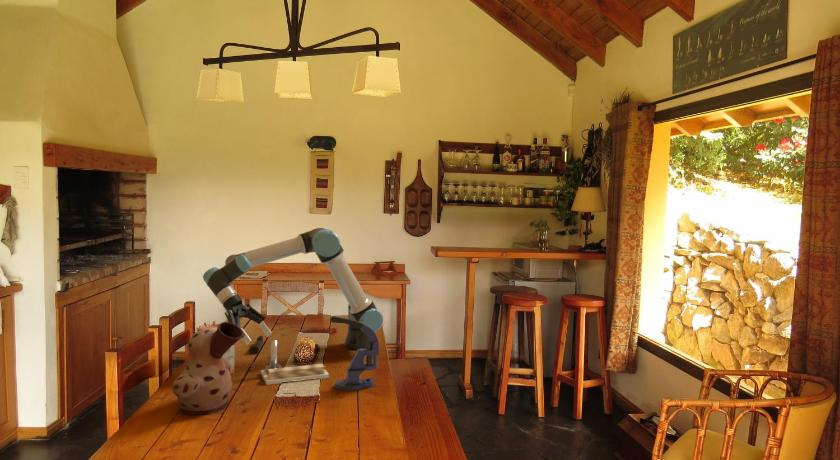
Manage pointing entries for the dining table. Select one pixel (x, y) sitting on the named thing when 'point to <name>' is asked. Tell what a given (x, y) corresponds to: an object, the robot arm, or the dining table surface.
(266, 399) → the dining table surface
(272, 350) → the surface gauge
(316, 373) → the oak board
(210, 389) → the vessel
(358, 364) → the hand press
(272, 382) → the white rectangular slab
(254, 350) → the hand tool
